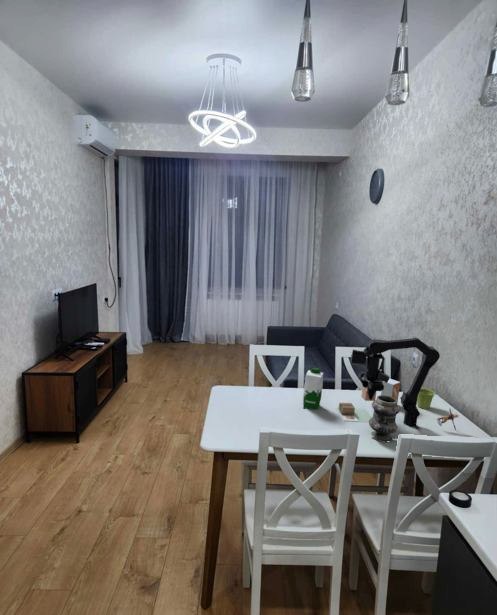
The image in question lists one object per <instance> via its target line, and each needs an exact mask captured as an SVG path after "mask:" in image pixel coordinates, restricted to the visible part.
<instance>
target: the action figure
mask: <svg viewBox="0 0 497 615" xmlns="http://www.w3.org/2000/svg"><path fill="white" fill-rule="evenodd" d="M457 418H459V414H457V413H452V409H451V408H449V415H447V416H441V417H437V418H436V421H437V424H438V425H439V426H440V427H442V426H443V424H445V423H447V422H448V421H450V420H451V422H452V424H453V428H454V430H455V431H457V428H456V425H455V422H454V420H455V419H457Z"/></svg>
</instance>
